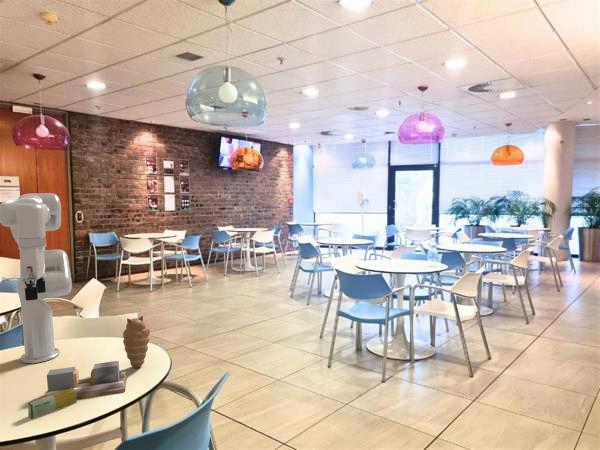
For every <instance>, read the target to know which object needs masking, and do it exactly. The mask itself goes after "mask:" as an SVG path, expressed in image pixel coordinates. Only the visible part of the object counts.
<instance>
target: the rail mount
mask: <svg viewBox="0 0 600 450" xmlns="http://www.w3.org/2000/svg"><path fill="white" fill-rule="evenodd" d="M127 380H128V372H126V371H121V372H120V362H119V360H113V361H105V362H99V363H94V365H93V367H92V369H91V372H90V376H84V377H79V383H78V385H77V386H76V388H73V389H75V390H76V400H80V399H85V398H86V399H87V398H93V397H98V396H99V397H100V396H105V395H106V396H107V395H112V394H113V395H114V394H119V393H125V392H126V388H127V387H126V386H127ZM66 390H69V389H65V390H58V391H51V392H48V391H47V392H46V393H45V397H48V396H51V395H54V394H57V393H60V392H63V391H66ZM45 397H44V398H45Z"/></svg>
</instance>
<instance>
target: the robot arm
mask: <svg viewBox="0 0 600 450" xmlns="http://www.w3.org/2000/svg"><path fill="white" fill-rule="evenodd" d="M0 224H1V226H3V227H6V228H10V233H11V235H12V236H13V237H12V238H13V239H14V241H15V242H16V244H17V245H18V246H17V248H18V250H19V265H20V267H19V270H20V271H19V273H20V277H19V278H18V279H17V282H16V290H17V293H18V294H17V295H18V298H19V303H20V308H21V319H22V334H23V343H24V344H23V345H24V353H23V354H22V355H21V356H20V357H19V359H20V362H21V363H23V364H36V363H37V364H38V363H42V362H46V361H49V360H52V359H54V358H55V359H56V358H57V357H58V356H59V355H60V353H61V352H60V351H61V350H60V349H59V348H56V347H55V346H56V345H55V333H54V319H53V309H52V307H51V305H50V304H49V303H48V302H46V301H45V300H44V299H48V298H54V297H62V296H66V295H68V294H70V293H71V291H72V287H73V281H72V274H71V268H70V267H71V266H70V261H69V257H68V254H67V251H65V250H63V249H46V248H47V238H46V232H55V231H58V229H60V228H61V225H62V203H61V199H60V197H58V195H57V194H56V193H52V192H45V193H44V192H42V193H40V192H39V193H37V192H36V193H24V194H22V195H20V196H19V197H18V198H15V199H10V200H9V199H8V200H4V201H2V202H1V203H0Z"/></svg>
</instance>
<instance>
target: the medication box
mask: <svg viewBox="0 0 600 450" xmlns="http://www.w3.org/2000/svg"><path fill="white" fill-rule="evenodd" d="M76 403H78V401H77V399H76V390H75V389H73V388H72V389H69V390H66V391H63V392H60V393H57V394H54V395H51V396H48V397H42V398H39V399H37V400H33V401H31V402H27V410H28V411H27V413H28V414H27V415H28V418H29V419H30V420H34V419H36V418H39V417H41V416H43V415H47V414H49V413H52V412H54V411H57V410H60V409H63V408H65V407H67V406H70V405H71V406H72V405H73V404H76Z"/></svg>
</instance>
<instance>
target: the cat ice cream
mask: <svg viewBox="0 0 600 450" xmlns="http://www.w3.org/2000/svg"><path fill="white" fill-rule="evenodd" d="M126 322H127V323H126V325H125V329H124V330H123V333H122V336H123V345H124V352H125V353H126V357H127V359H128V361H129V362H130V366H131V367H132V368H136V369H137V368H140V367H142V366H143V365H144V363H145V358H146V356H147V352H148V349H149V346H148V344H149V342H150V338H149V335H150V333H151V332H150V331H151V330H150V328H149V327H148V326H146V324H145V322H144V316H143V315H141V316H140V317H139V318H137V317H134V318H126Z"/></svg>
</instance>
